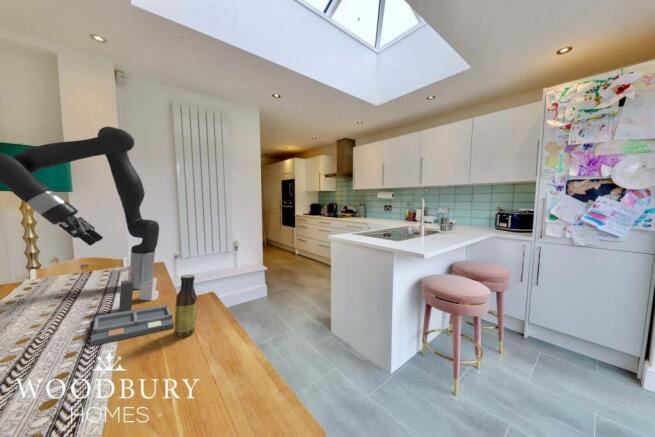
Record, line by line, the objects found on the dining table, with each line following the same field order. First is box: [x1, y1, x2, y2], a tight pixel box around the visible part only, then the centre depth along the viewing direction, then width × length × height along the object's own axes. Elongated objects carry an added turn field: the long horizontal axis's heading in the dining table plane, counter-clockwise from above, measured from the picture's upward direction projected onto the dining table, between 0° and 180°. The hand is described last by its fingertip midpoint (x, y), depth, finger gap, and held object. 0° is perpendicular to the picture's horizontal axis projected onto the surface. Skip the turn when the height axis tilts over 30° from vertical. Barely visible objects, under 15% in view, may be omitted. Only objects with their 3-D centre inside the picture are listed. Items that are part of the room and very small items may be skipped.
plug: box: [118, 277, 134, 312], centre depth 91 cm, size 4×4×13 cm
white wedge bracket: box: [138, 276, 160, 302], centre depth 102 cm, size 4×10×9 cm, turn 85°
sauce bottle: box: [173, 274, 198, 338], centre depth 79 cm, size 7×6×20 cm
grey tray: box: [89, 304, 175, 347], centre depth 81 cm, size 18×21×3 cm
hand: (97, 241), depth 85 cm, fingers open, 8 cm apart
